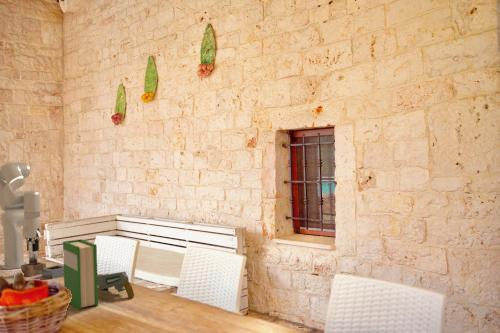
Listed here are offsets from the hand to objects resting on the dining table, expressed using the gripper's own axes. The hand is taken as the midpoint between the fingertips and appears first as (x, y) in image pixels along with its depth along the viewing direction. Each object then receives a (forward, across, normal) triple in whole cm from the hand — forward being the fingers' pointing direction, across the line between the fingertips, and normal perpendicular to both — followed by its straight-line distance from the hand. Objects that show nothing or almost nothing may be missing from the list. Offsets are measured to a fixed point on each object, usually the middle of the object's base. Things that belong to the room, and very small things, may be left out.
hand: (33, 250), depth 220 cm
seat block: (+12, +14, +3) cm, 19 cm away
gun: (+12, +65, -2) cm, 66 cm away
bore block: (+12, 0, 0) cm, 12 cm away
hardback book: (+12, +64, -18) cm, 68 cm away
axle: (+6, 0, 0) cm, 6 cm away
